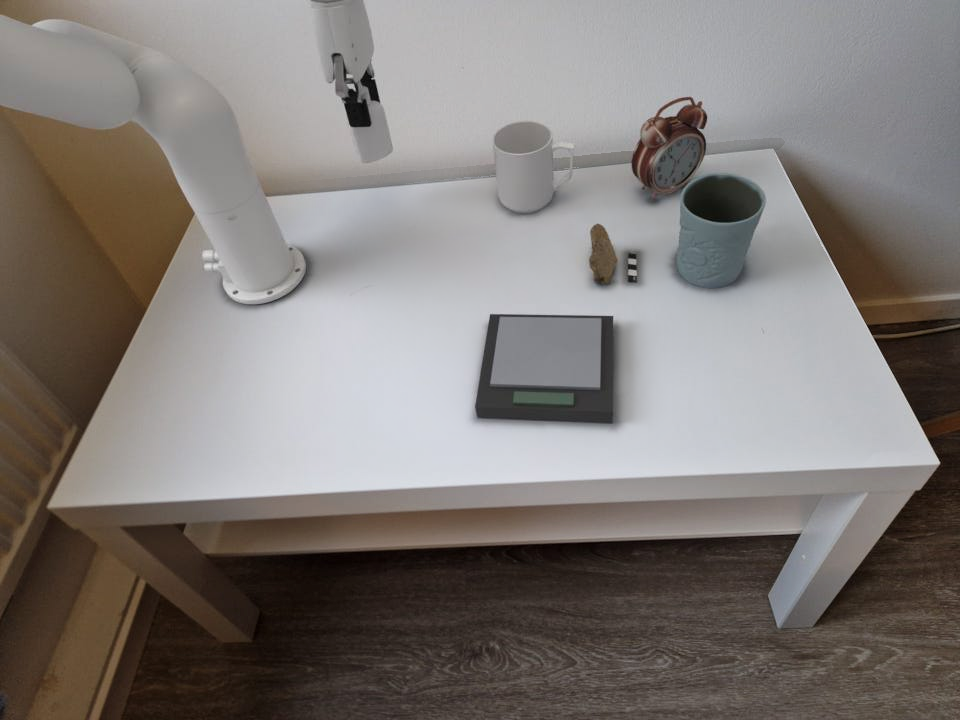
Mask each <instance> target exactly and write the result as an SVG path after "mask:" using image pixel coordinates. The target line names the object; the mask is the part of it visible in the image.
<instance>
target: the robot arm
mask: <svg viewBox="0 0 960 720" xmlns="http://www.w3.org/2000/svg"><path fill="white" fill-rule="evenodd" d="M306 2H307V3H308V4H309V5H310V14H311V21H312V28H313V33H314V38H315V43H316V47H317V51H318V52H317V53H318V56H319V61H320V65H321V69H322V73H323V76H324V79H325V82H326V83H327V84H333V83H334V90H335V91H334V92H335V95H336V96H337V97H339V98H340V99H341V103H342V104H343V106H344V110H345V113H346V114H347V117H348V121H349V125H350V126H351V127H370V126H371V124H372V122H371V118H370V114H369V110H368V105H367V101H366V99H363V94H362V88H361V84H362V86H365V87H367V88H368V91H369V95H370V100H371V101H377V102H379V103H380V104H381V100H380V94H379V90H378V86H377V85H378V84H377V81H376V79H375V70H374V67H373V63H372V58H373V57H374V53H375V46H374V45H375V44H374V38H373V34H372V29H371V25H370V21H369V17H368V16H369V15H368V12H367V8H366V5H365V1H364V0H306ZM347 75H349V76H352V77H347ZM348 85H353V88H355V90H356V92H355V91H354V90H353V88H350V87H349V86H348ZM0 106H2V107H5V108H9V109H12V110H16V111H20V112H24V113H29V114H31V115H36V116H39V117H44V118H47V119H52V120H55V121H60V122H63V123H67V124H70V125H73V126H77V127H80V128H85V129H89V130H101V131H105V130H112V129H117V128H120V127H122V126H124V125H125V124H127V123H128V122H133V123H135V124H138V125H139V126H140V127H141V128H142V129H143V130H144V131H145V132H146V133H147V134H148V135H149V136H150V137H152V138H153V140H154V141H155V142H156V143H157V144H158V146H159V147H160V149H161V151H162V152H163V154H164V155H165V157H166V159H167V161H168V163H169V166H170V167H171V171H172V172H173V175H174V177H175V179H176V181H177V183H178V186H179V187H180V189H181V191H182V193H183V195H184V197H185V198H186V201H187V202H188V204H189V206H190V207H191V209H192V211H193V213H194V214H195V217H196V218H197V220H198V222H199V223H200V225H201V227H202V229H203V231H204V233H205V234H206V237H207V238H208V240H209V242H210V243H211V245H212V247H213V249H204V250H203V251H202V260H203V262H204V265H203V269H204V271H205V273H217V272H218V273H219V274H221V275H222V286H223V289H224V291H225V292H226V294H227V295H228V297H229V298H230V299H231V300H233V301H235V302H237V303H240V304H244V305H262V304H266V303H271V302H273V301H275V300H278V299H280V298H282V297H284V296H286V295H288V294H289V293H290V292H292V291H293V290H294V289H295V288H297V286H298V285H299V284H300V282H301V281H302V280H303V278H304V276H305V274H306V270H307V262H306V260H305V257H304V255H303V253H302V251H301V250H300V249H298V248H297V247H295V246H294V245H292V244H288V243H287V242H286V239H285V238H284V235H283V232H282V230H281V228H280V226H279V224H278V221H277V219H276V217H275V214H274V212H273V210H272V207H271V205H270V203H269V200H268V198H267V196H266V194H265V192H264V189H263V187H262V185H261V183H260V180H259V178H258V176H257V173H256V171H255V168H254V167H253V164H252V162H251V159H250V157H249V155H248V152H247V149H246V147H245V143H244V140H243V136H242V132H241V128H240V125H239V122H238V121H239V120H238V119H237V116H236V113H235V111H234V109H233V107H232V106H231V104H230V102H229V101H228V99H227V98H226V97H225V96H224V94H223V93H221V91H220V90H219V89H218V87H216V86H215V85H214V84H212V83H211V82H210V81H208V80H207V79H206V78H204V77H203V76H201V75H200V74H199V73H197V72H196V71H194V70H192V69H191V68H189V67H188V66H186V65H185V64H184V63H182V62H180V61H179V60H178V59H176V58H174V57H173V56H170V55H169V54H167V53H164V52H162V51H159V50H156V49H154V48H150V47H147V46H144V45H142V44H139V43H136V42H134V41H130V40H128V39H125V38H123V37H120V36H116V35H113V34H110V33H108V32H105V31H102V30H100V29H97V28H95V27H91V26H88V25H85V24H82V23H79V22H76V21H72V20H67V19H60V18H52V19H51V18H49V19H44V20H40V21H37V22H35V23H33V24H29V23H25V22H22V21H20V20H17V19H15V18H12V17H9V16H7V15H4V14H1V13H0ZM346 114H345V115H346Z"/></svg>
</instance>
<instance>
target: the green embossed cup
mask: <svg viewBox="0 0 960 720" xmlns="http://www.w3.org/2000/svg"><path fill="white" fill-rule="evenodd" d="M687 183H688V184H687V185H686V186H685V185H684V188H682V191H681V193H680V200H679V201H680V204H679V226H680V229H679V233H678V234H679V235H678V245H677V251H676V269H677V271H678V274H679V275H680V276H681V278H683V280H685V281H686V282H687V283H689V284H691V285H694V286H696V287H700V288H704V289H718V288H724V287H726V286H729V285H730V284H732V283H734V282H735V281H736V280H737V279H738V278H739V276H740V274H741V272H742V269H743V267H744V264H745V261H746V258H747V254H748V251H749V248H750V246H751V242H752V240H753V237H754V234H755V231H756V229H757V227H758V225H759V223H760V220H761V217H762V215H763V213H764V210H765V207H766V202H767V199H766V193H765V191H764V190H763V188H762V187H760V185H759V184H757V183H756V182H755V181H753V180H752V179H750V178H748V177H745V176H743V175H739V174H736V173H728V172H714V173H707V174H704V175H700V176H698V177H696V178H693V179H691V180H690V181H688V182H687Z"/></svg>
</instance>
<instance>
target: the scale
mask: <svg viewBox="0 0 960 720" xmlns="http://www.w3.org/2000/svg"><path fill="white" fill-rule="evenodd" d="M483 350H484V351H483V355H482V361H481V367H480V375H479V380H478V385H477V393H476V399H475V404H474V405H475V406H474V408H475V412H476V417H477V418H476V419H490V420H491V419H492V420H514V421H516V420H517V421H537V422H538V421H539V422H564V423H584V424H585V423H586V424H587V423H588V424H589V423H590V424H611V425H612V424H613V421H614V315H586V314H585V315H584V314H583V315H577V314H510V313H507V314H506V313H503V314H502V313H490V314H489V318H488V324H487V331H486V338H485V343H484V349H483Z"/></svg>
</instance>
